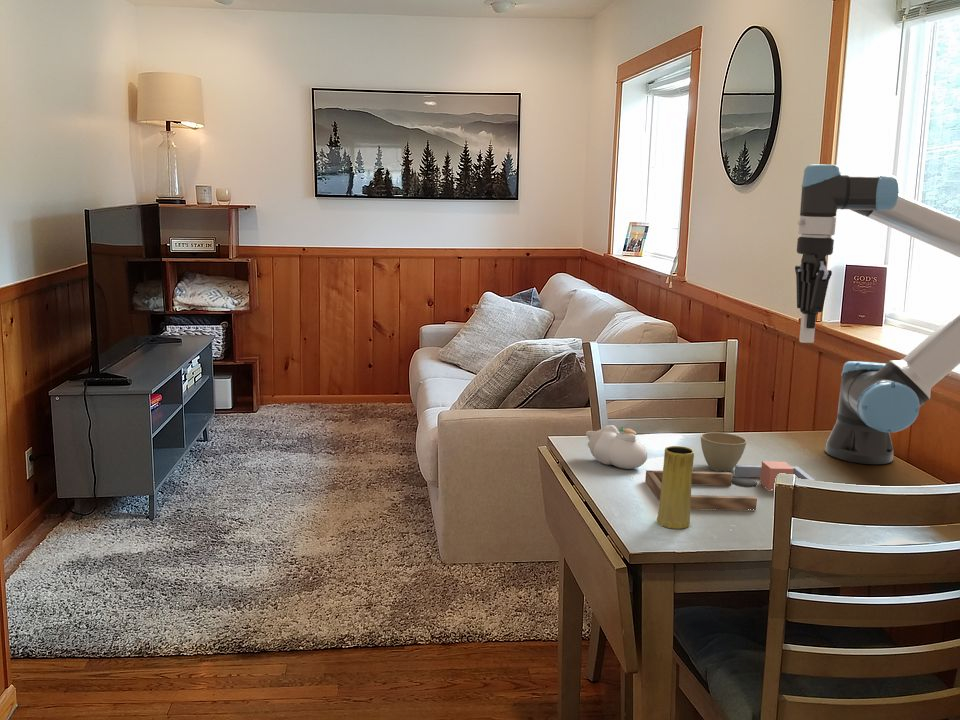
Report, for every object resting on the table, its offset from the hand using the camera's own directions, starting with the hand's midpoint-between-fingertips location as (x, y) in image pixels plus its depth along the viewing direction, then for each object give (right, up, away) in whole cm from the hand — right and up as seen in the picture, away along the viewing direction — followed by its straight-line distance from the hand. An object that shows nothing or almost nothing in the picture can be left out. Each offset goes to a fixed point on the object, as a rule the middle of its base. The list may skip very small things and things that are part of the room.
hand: (806, 342), depth 204 cm
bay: (-10, -31, -8) cm, 33 cm away
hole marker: (-16, -30, -9) cm, 36 cm away
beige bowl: (-19, -29, +1) cm, 34 cm away
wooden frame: (-28, -32, -18) cm, 46 cm away
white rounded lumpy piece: (-43, -28, +1) cm, 51 cm away
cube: (-10, -31, -10) cm, 34 cm away
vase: (-37, -35, -34) cm, 61 cm away
